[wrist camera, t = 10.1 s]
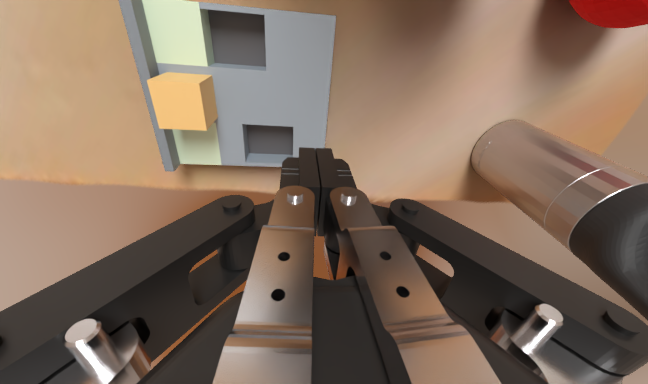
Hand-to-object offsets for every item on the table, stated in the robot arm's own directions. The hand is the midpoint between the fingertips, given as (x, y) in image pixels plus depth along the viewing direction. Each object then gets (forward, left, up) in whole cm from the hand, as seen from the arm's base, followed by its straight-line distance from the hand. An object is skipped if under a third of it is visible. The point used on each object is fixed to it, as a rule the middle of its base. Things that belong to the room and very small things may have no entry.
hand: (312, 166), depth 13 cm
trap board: (+7, +2, -23) cm, 24 cm away
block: (+12, +2, -20) cm, 23 cm away
